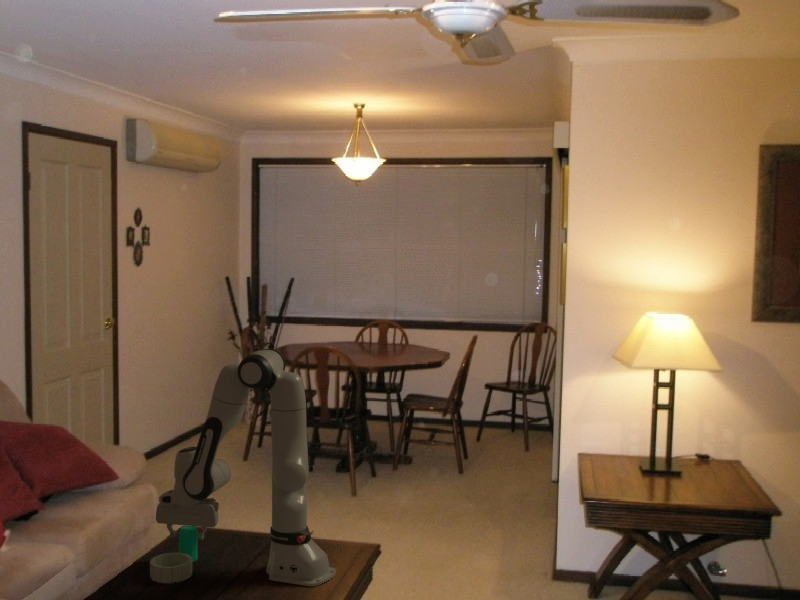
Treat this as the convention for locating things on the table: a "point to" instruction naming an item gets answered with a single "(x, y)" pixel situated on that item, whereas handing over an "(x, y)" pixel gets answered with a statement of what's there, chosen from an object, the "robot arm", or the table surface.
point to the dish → (171, 567)
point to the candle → (189, 541)
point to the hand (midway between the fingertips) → (186, 537)
